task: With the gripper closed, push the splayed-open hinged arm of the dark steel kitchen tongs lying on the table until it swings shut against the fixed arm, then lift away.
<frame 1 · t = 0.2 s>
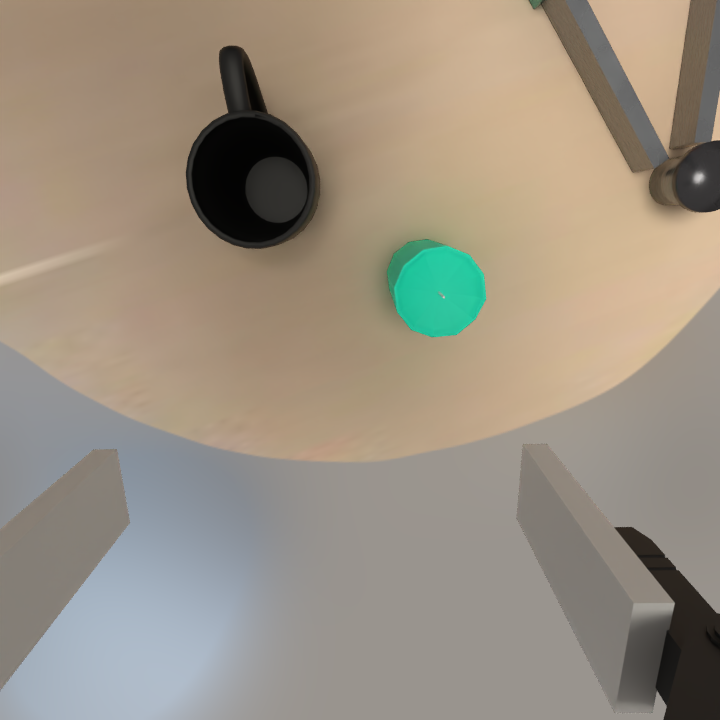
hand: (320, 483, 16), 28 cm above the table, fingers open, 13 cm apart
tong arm: (589, 61, 35), point 1 cm above the table, hinge at 35.0°
tongs fixed: (672, 181, 39), on the table
candle: (421, 274, 41), on the table
mug: (274, 165, 39), on the table
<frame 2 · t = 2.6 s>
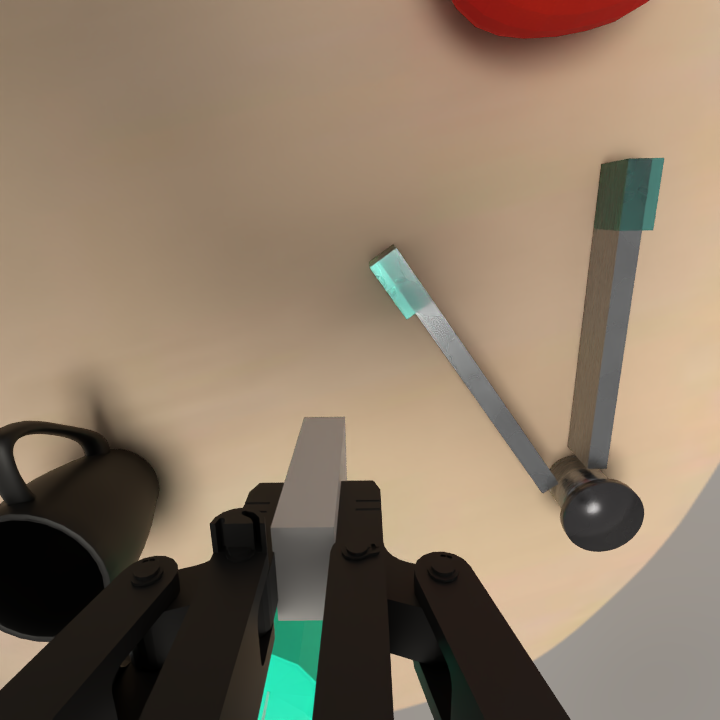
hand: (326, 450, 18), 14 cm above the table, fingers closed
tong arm: (465, 374, 30), point 1 cm above the table, hinge at 35.0°
tongs fixed: (572, 478, 34), on the table
candle: (293, 562, 36), on the table
mug: (115, 457, 34), on the table
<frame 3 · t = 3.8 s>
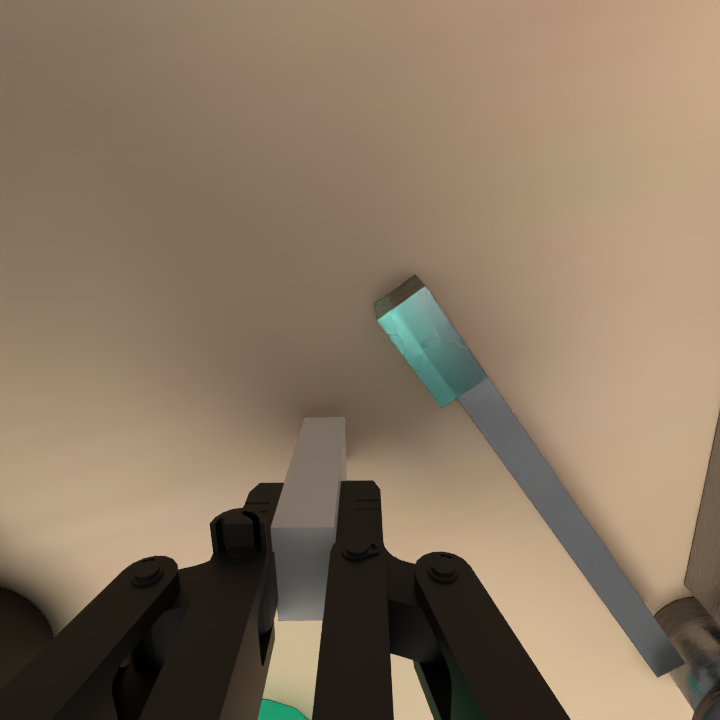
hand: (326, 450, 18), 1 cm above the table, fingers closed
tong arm: (534, 487, 18), point 1 cm above the table, hinge at 35.0°
tongs fixed: (688, 629, 22), on the table
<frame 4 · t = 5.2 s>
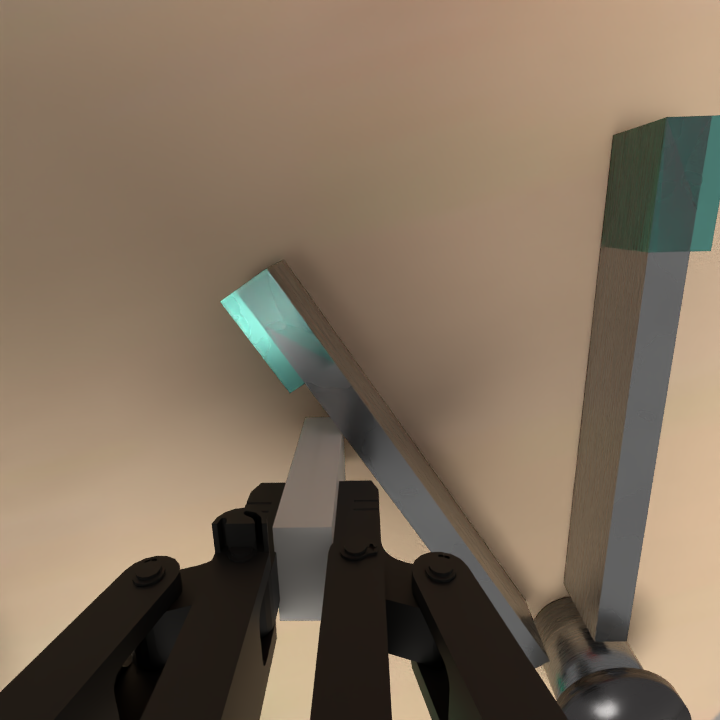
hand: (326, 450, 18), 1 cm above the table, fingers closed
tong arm: (400, 478, 18), point 2 cm above the table, hinge at 32.5°, touching gripper
tongs fixed: (572, 629, 22), on the table
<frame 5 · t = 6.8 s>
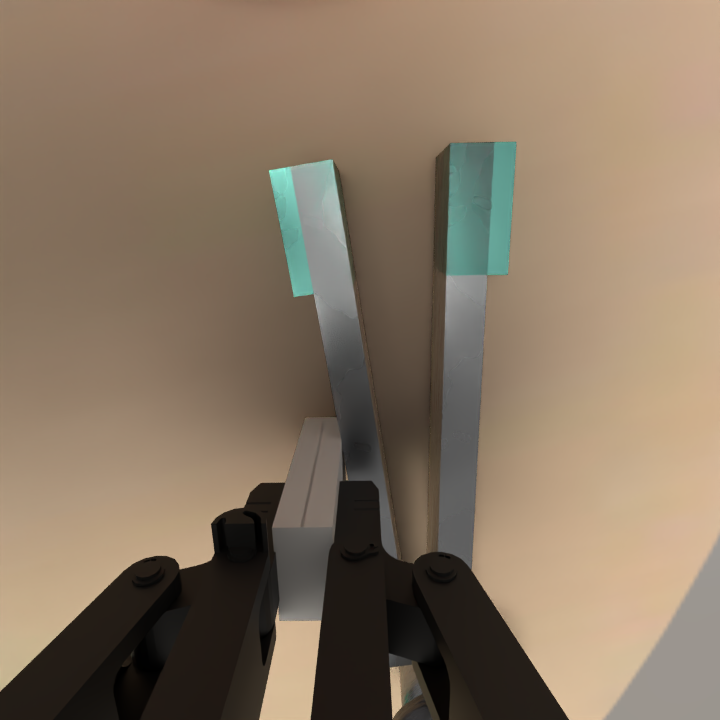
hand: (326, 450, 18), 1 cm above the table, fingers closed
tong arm: (354, 434, 17), point 1 cm above the table, hinge at 8.0°, touching gripper
tongs fixed: (438, 646, 22), on the table
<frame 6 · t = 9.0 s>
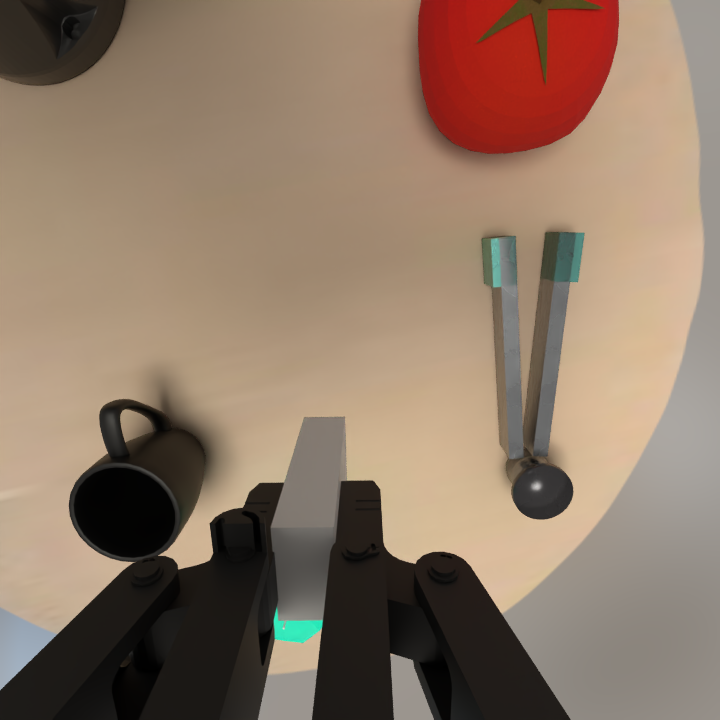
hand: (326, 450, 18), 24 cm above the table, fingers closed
tomato: (489, 70, 36), on the table
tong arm: (503, 350, 39), point 1 cm above the table, hinge at 8.0°
tongs fixed: (525, 466, 44), on the table
candle: (306, 526, 46), on the table
mug: (173, 435, 44), on the table
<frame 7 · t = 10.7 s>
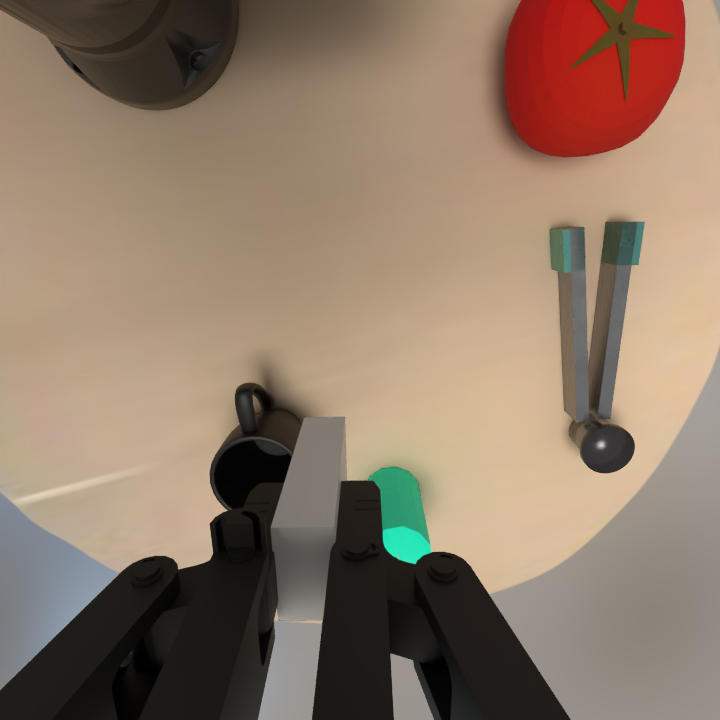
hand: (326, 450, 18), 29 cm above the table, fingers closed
tomato: (557, 81, 41), on the table
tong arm: (570, 327, 45), point 1 cm above the table, hinge at 8.0°
tongs fixed: (586, 429, 49), on the table
candle: (391, 490, 52), on the table
mug: (274, 414, 49), on the table
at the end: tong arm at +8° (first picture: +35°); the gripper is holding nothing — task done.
